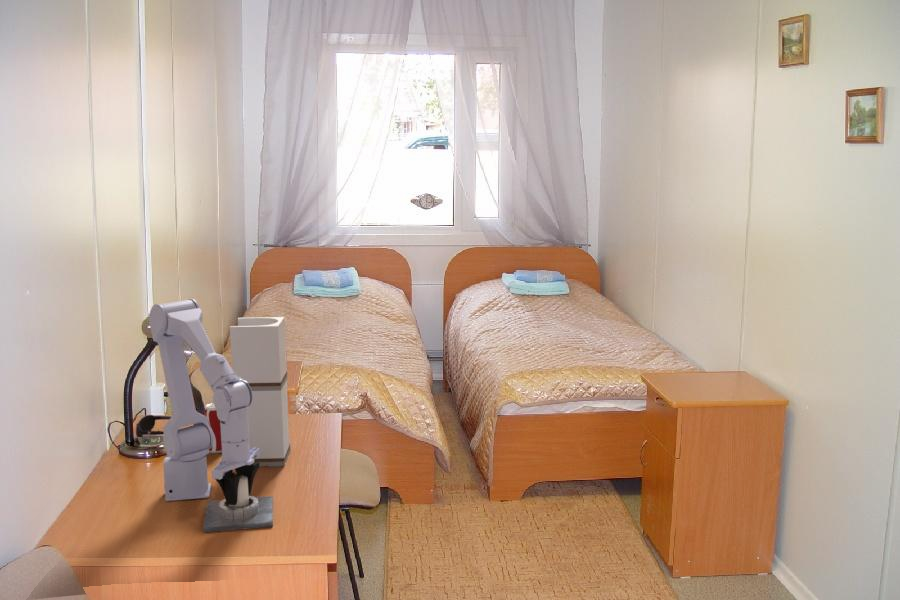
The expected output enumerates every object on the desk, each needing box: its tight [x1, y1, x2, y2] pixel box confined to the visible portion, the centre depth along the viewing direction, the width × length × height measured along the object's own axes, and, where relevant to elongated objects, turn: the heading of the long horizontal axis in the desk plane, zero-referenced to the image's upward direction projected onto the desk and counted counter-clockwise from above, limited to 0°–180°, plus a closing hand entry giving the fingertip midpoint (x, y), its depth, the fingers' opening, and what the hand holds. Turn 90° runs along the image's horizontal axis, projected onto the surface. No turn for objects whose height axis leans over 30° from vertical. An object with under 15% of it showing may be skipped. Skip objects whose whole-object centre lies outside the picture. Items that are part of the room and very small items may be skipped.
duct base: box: [202, 495, 274, 534], centre depth 199 cm, size 14×14×3 cm
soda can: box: [203, 402, 222, 454], centre depth 239 cm, size 5×5×12 cm
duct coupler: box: [227, 475, 249, 508], centre depth 198 cm, size 4×4×6 cm
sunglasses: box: [135, 414, 195, 438], centre depth 250 cm, size 14×16×5 cm
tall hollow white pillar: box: [229, 316, 292, 468], centre depth 230 cm, size 11×11×35 cm
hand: (238, 499), depth 199 cm, fingers closed on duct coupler, 4 cm apart
